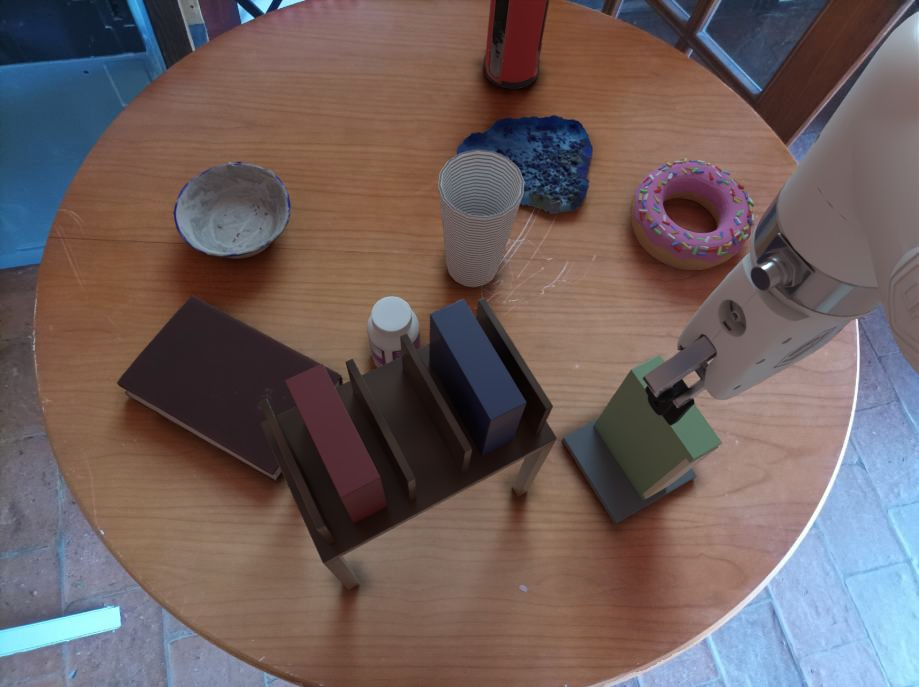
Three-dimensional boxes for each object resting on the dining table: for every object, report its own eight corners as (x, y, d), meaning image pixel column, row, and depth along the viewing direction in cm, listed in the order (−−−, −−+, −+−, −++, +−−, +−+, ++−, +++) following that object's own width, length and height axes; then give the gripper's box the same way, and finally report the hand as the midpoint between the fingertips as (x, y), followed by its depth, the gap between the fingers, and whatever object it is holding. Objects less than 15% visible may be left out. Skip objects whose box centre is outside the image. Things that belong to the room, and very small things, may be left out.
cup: (486, 226, 85) (498, 137, 71) (521, 280, 82) (540, 199, 68) (423, 252, 83) (423, 166, 69) (457, 309, 80) (463, 231, 66)
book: (200, 305, 79) (191, 290, 76) (345, 384, 75) (342, 372, 72) (126, 395, 74) (113, 384, 71) (277, 484, 70) (271, 476, 67)
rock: (582, 220, 86) (585, 210, 84) (446, 196, 86) (446, 186, 85) (595, 131, 92) (598, 121, 90) (468, 110, 93) (468, 99, 91)
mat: (693, 478, 72) (697, 476, 72) (614, 524, 70) (617, 522, 69) (638, 398, 76) (641, 395, 75) (561, 440, 74) (563, 437, 73)
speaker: (530, 97, 94) (551, -23, 78) (475, 82, 95) (485, -40, 78) (544, 58, 97) (568, -65, 81) (491, 44, 98) (505, -81, 82)
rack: (527, 491, 71) (571, 412, 49) (348, 590, 66) (310, 550, 45) (470, 394, 75) (488, 282, 54) (298, 480, 71) (241, 395, 49)
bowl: (171, 210, 84) (157, 185, 80) (271, 172, 87) (263, 146, 83) (208, 294, 79) (195, 272, 75) (313, 251, 82) (307, 227, 78)
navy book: (512, 440, 55) (527, 402, 47) (481, 456, 54) (490, 420, 46) (459, 347, 58) (463, 298, 50) (429, 361, 57) (429, 313, 50)
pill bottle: (422, 334, 78) (421, 291, 70) (418, 377, 76) (417, 339, 67) (374, 330, 78) (367, 287, 70) (368, 374, 76) (361, 335, 67)
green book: (667, 487, 71) (723, 443, 57) (642, 501, 70) (694, 460, 57) (616, 412, 74) (659, 354, 61) (593, 425, 73) (630, 369, 60)
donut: (606, 240, 85) (616, 215, 80) (656, 162, 90) (668, 135, 86) (714, 297, 82) (731, 275, 77) (759, 213, 87) (777, 188, 83)
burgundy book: (387, 506, 52) (380, 477, 44) (353, 524, 51) (340, 498, 44) (337, 405, 55) (322, 362, 48) (304, 421, 55) (284, 380, 47)
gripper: (750, 375, 32) (647, 476, 48) (1005, 234, 37) (836, 368, 52) (655, 254, 35) (587, 386, 51) (902, 137, 39) (770, 291, 55)
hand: (713, 377), depth 51 cm, fingers open, 9 cm apart
